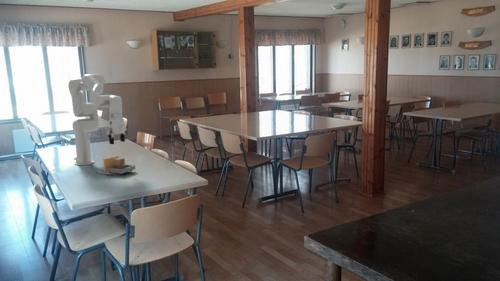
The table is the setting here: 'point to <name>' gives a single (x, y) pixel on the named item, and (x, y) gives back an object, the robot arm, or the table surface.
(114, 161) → the walnut block
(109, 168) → the grey and tan frame
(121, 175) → the rail track
